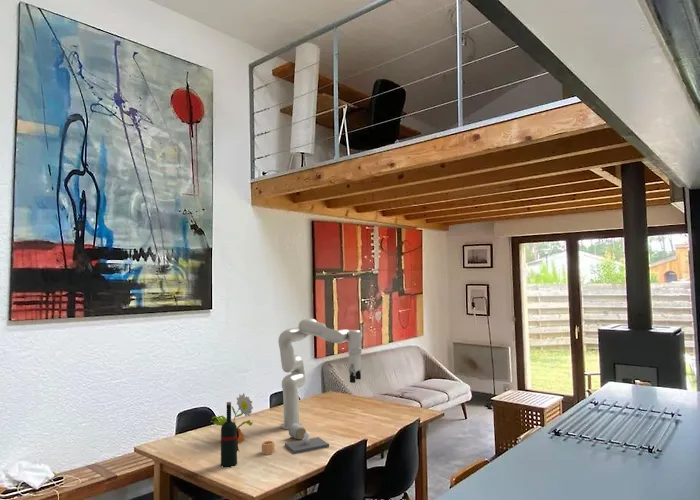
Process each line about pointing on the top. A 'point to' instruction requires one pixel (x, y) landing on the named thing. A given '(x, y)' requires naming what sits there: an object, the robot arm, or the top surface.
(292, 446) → the post base
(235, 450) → the wine bottle
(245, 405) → the decorative plant
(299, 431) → the ceramic mug
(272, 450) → the collar
